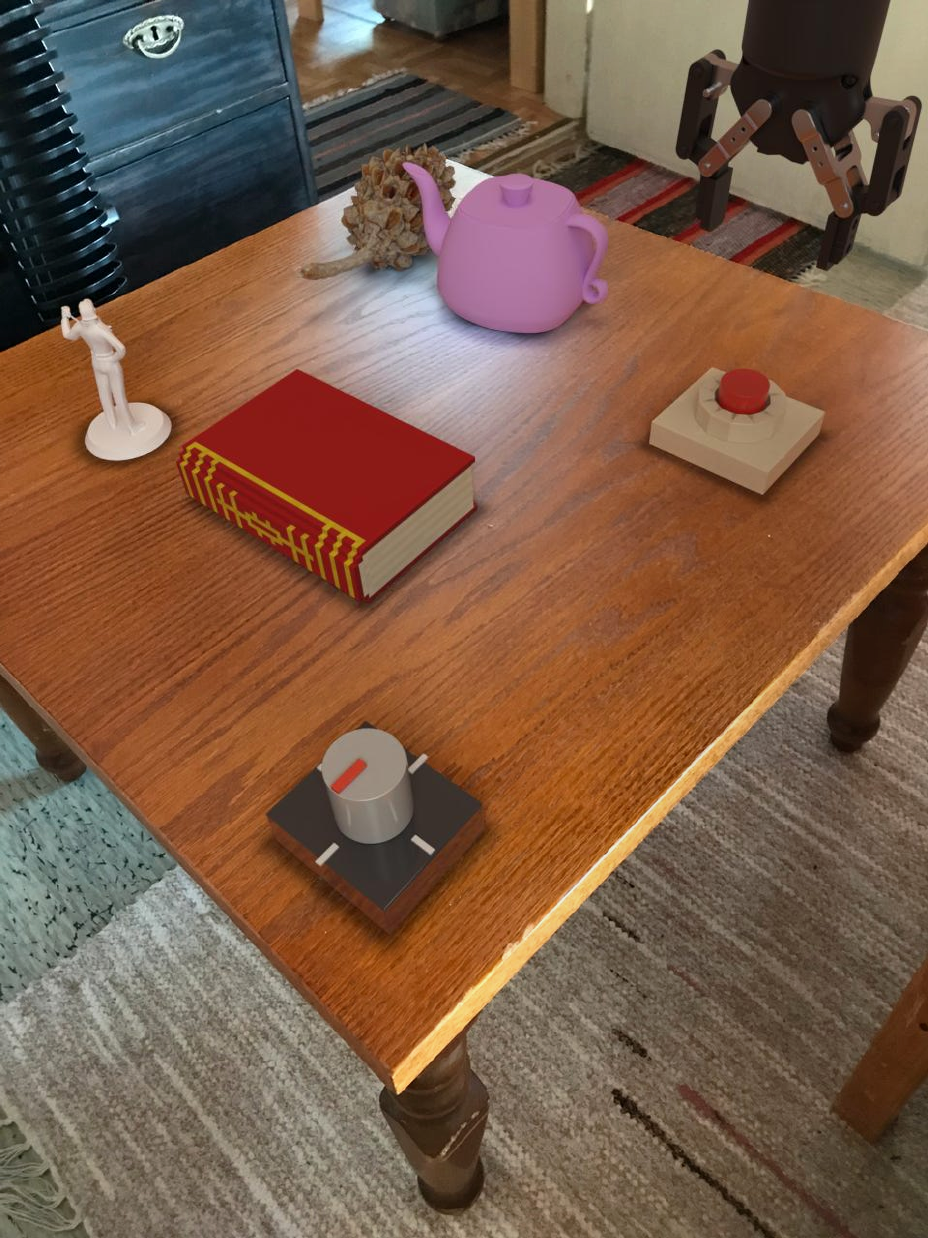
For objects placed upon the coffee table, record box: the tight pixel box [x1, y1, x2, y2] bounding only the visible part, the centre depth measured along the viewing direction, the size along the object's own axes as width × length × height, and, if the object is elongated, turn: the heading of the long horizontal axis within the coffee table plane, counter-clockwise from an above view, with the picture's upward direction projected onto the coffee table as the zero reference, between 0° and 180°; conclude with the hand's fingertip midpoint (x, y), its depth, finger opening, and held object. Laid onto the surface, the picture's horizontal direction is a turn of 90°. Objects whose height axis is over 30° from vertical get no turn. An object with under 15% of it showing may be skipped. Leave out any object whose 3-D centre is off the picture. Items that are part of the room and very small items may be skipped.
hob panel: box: [265, 720, 486, 935], centre depth 55 cm, size 9×9×3 cm
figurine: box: [60, 298, 172, 461], centre depth 77 cm, size 7×7×12 cm
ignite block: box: [648, 366, 826, 496], centre depth 76 cm, size 10×9×4 cm
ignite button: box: [718, 368, 770, 415], centre depth 74 cm, size 4×4×2 cm
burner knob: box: [321, 728, 414, 844], centre depth 52 cm, size 4×4×5 cm
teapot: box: [402, 162, 610, 334], centre depth 88 cm, size 20×13×12 cm, turn 63°
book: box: [175, 368, 478, 603], centre depth 73 cm, size 18×13×5 cm
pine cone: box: [292, 141, 457, 281], centre depth 93 cm, size 22×10×10 cm, turn 152°
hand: (768, 245), depth 65 cm, fingers open, 8 cm apart
